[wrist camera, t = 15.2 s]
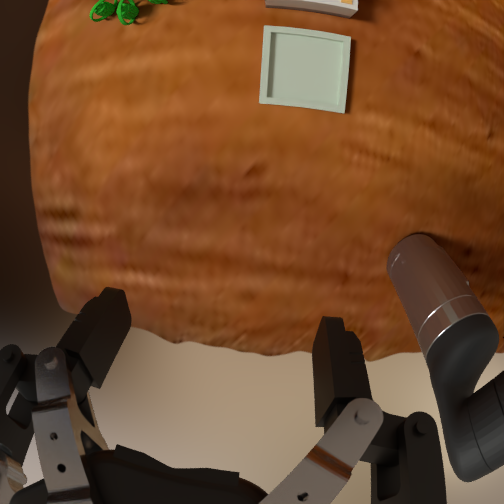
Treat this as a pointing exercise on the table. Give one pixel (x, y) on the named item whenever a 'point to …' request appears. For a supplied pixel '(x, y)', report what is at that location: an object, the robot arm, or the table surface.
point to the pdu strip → (318, 6)
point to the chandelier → (118, 10)
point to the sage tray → (304, 68)
